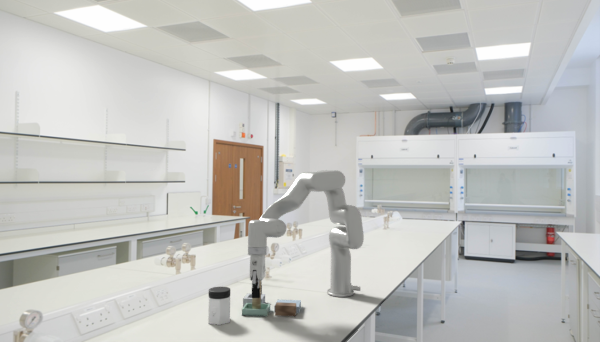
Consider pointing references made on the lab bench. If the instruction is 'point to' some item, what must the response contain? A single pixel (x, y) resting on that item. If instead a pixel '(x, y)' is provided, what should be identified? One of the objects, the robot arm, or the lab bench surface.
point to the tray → (255, 310)
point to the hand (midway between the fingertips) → (256, 295)
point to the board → (298, 302)
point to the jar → (219, 305)
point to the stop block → (285, 309)
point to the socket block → (249, 299)
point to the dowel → (257, 299)
